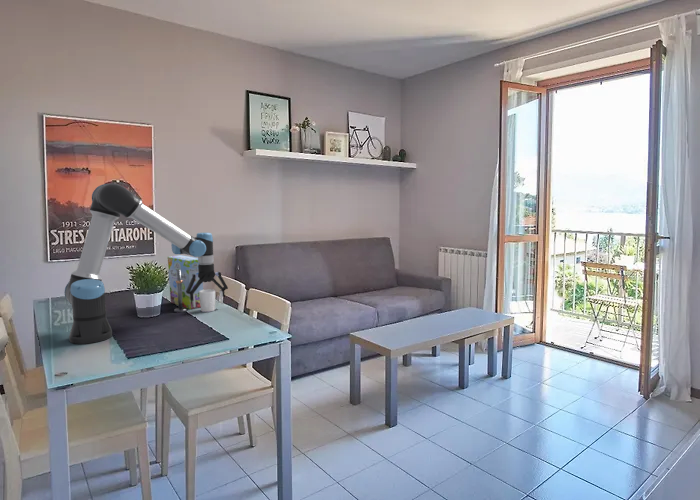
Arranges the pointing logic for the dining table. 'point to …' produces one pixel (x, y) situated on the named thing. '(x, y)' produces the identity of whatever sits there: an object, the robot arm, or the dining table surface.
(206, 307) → the white cup
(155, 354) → the dining table surface
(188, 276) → the snack box
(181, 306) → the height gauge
